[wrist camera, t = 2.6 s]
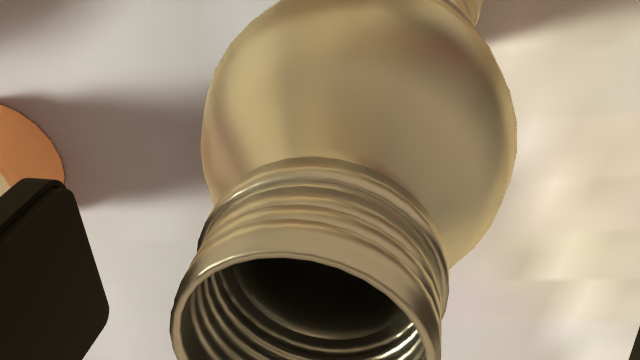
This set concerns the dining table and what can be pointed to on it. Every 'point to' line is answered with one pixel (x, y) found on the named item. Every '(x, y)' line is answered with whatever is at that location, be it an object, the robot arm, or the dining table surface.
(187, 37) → the dining table surface
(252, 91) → the plastic bottle
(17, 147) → the pepper shaker
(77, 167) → the dining table surface
